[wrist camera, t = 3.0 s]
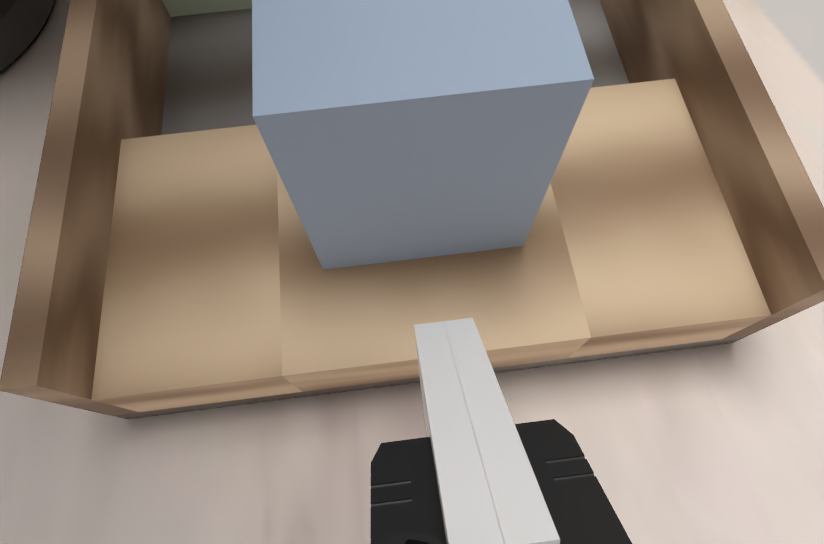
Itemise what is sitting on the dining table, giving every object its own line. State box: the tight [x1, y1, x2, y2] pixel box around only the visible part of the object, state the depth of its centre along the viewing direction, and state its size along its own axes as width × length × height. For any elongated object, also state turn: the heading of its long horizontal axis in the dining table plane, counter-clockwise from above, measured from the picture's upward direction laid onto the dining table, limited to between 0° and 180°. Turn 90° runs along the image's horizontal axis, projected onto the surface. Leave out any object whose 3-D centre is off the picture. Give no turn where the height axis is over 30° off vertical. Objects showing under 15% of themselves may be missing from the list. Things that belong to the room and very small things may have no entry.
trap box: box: [0, 0, 824, 419], centre depth 23 cm, size 30×24×6 cm
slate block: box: [252, 0, 594, 270], centre depth 16 cm, size 7×7×8 cm
